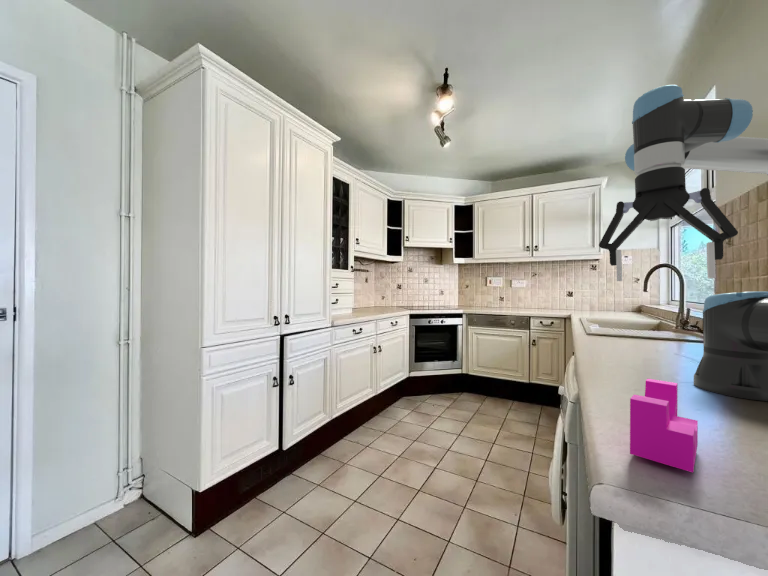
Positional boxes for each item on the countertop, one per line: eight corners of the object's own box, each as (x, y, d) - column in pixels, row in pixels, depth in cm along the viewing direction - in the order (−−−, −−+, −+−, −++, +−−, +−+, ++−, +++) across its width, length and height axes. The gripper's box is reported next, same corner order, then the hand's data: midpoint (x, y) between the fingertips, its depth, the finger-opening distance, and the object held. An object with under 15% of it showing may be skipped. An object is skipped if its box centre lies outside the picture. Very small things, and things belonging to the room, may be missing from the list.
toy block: (693, 472, 40) (693, 411, 40) (629, 453, 44) (630, 398, 44) (699, 435, 50) (699, 386, 50) (647, 423, 55) (647, 378, 55)
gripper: (749, 159, 59) (753, 277, 58) (587, 189, 74) (590, 282, 74) (759, 146, 53) (764, 276, 53) (582, 182, 69) (585, 282, 69)
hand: (662, 280), depth 64 cm, fingers open, 13 cm apart
